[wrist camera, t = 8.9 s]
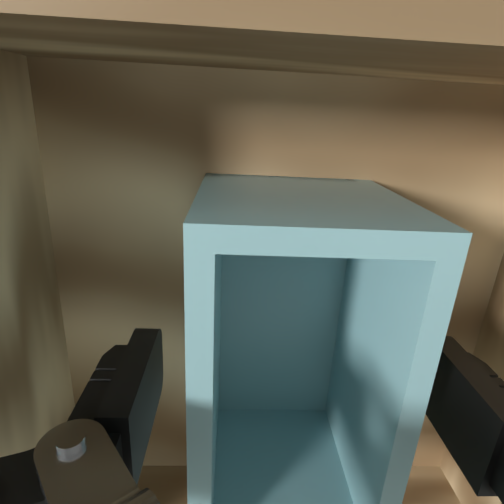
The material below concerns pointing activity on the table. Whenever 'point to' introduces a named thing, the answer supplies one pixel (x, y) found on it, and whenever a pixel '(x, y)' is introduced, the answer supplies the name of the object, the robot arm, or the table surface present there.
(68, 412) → the large crate
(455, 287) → the small crate
